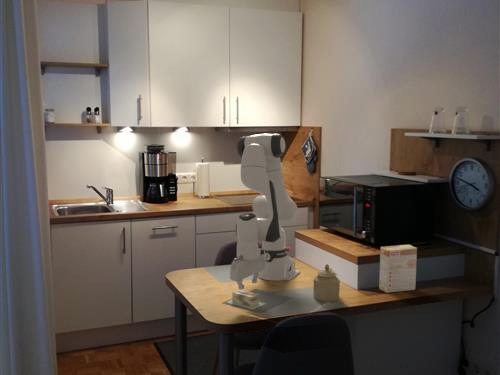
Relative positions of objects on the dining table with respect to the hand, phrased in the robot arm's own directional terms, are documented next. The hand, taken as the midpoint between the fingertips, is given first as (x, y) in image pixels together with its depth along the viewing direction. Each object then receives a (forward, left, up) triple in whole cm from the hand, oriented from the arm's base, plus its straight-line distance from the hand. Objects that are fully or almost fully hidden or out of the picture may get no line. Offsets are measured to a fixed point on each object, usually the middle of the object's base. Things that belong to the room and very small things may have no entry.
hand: (248, 285), depth 235 cm
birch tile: (+1, -1, -7) cm, 7 cm away
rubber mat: (-5, +1, -8) cm, 10 cm away
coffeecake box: (-57, +41, -8) cm, 71 cm away
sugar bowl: (-28, +20, -8) cm, 36 cm away
